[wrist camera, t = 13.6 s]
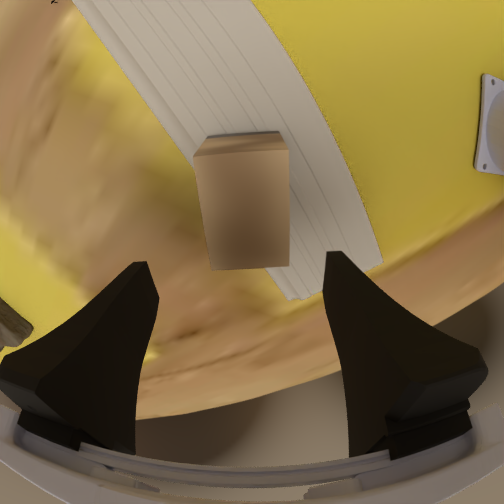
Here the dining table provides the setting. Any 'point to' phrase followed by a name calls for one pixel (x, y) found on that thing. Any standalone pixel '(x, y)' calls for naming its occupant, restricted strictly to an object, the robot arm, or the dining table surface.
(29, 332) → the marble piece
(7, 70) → the dining table surface
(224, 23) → the baseboard
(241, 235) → the block
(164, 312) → the dining table surface
